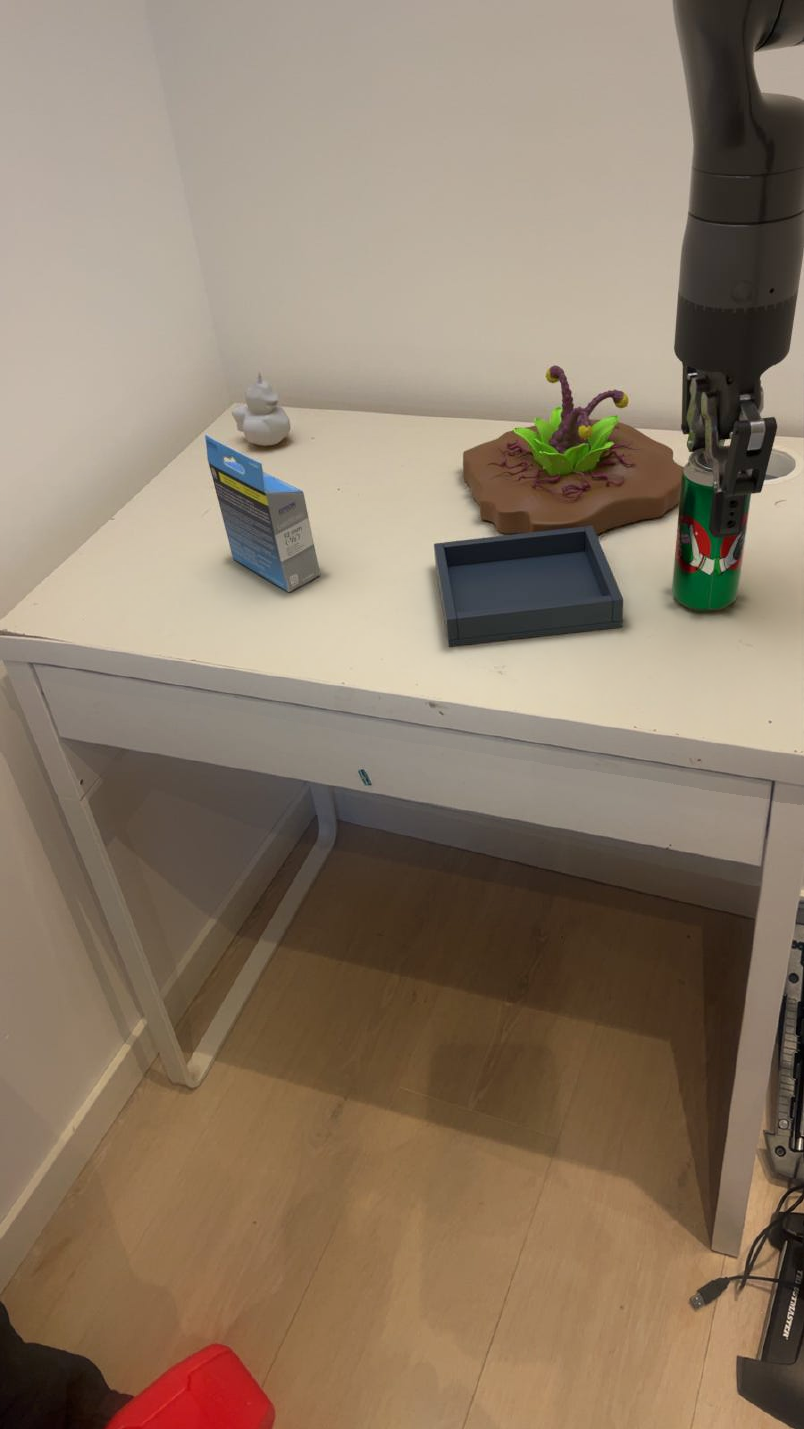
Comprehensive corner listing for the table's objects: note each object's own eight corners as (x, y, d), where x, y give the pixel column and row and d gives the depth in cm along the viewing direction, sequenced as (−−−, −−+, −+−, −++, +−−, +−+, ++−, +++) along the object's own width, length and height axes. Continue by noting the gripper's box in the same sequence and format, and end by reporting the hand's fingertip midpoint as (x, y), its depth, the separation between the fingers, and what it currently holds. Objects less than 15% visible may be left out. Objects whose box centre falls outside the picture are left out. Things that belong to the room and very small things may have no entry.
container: (592, 551, 90) (592, 525, 88) (622, 627, 81) (623, 599, 79) (435, 569, 90) (433, 543, 88) (448, 646, 81) (446, 619, 79)
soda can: (732, 579, 84) (749, 441, 77) (741, 614, 81) (761, 473, 73) (668, 581, 85) (679, 444, 78) (674, 616, 81) (687, 476, 74)
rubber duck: (280, 455, 111) (267, 382, 105) (226, 450, 113) (211, 379, 108) (302, 433, 114) (290, 362, 109) (249, 429, 116) (236, 359, 111)
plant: (607, 425, 109) (611, 317, 102) (718, 502, 94) (731, 382, 87) (432, 472, 104) (423, 362, 97) (520, 560, 90) (517, 439, 83)
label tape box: (322, 576, 91) (300, 445, 83) (285, 595, 89) (259, 463, 81) (264, 543, 96) (239, 417, 88) (228, 561, 94) (199, 434, 87)
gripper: (838, 313, 62) (796, 559, 73) (759, 246, 73) (733, 467, 84) (713, 328, 62) (689, 571, 73) (653, 258, 73) (640, 478, 84)
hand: (712, 514), depth 78 cm, fingers closed on soda can, 5 cm apart
